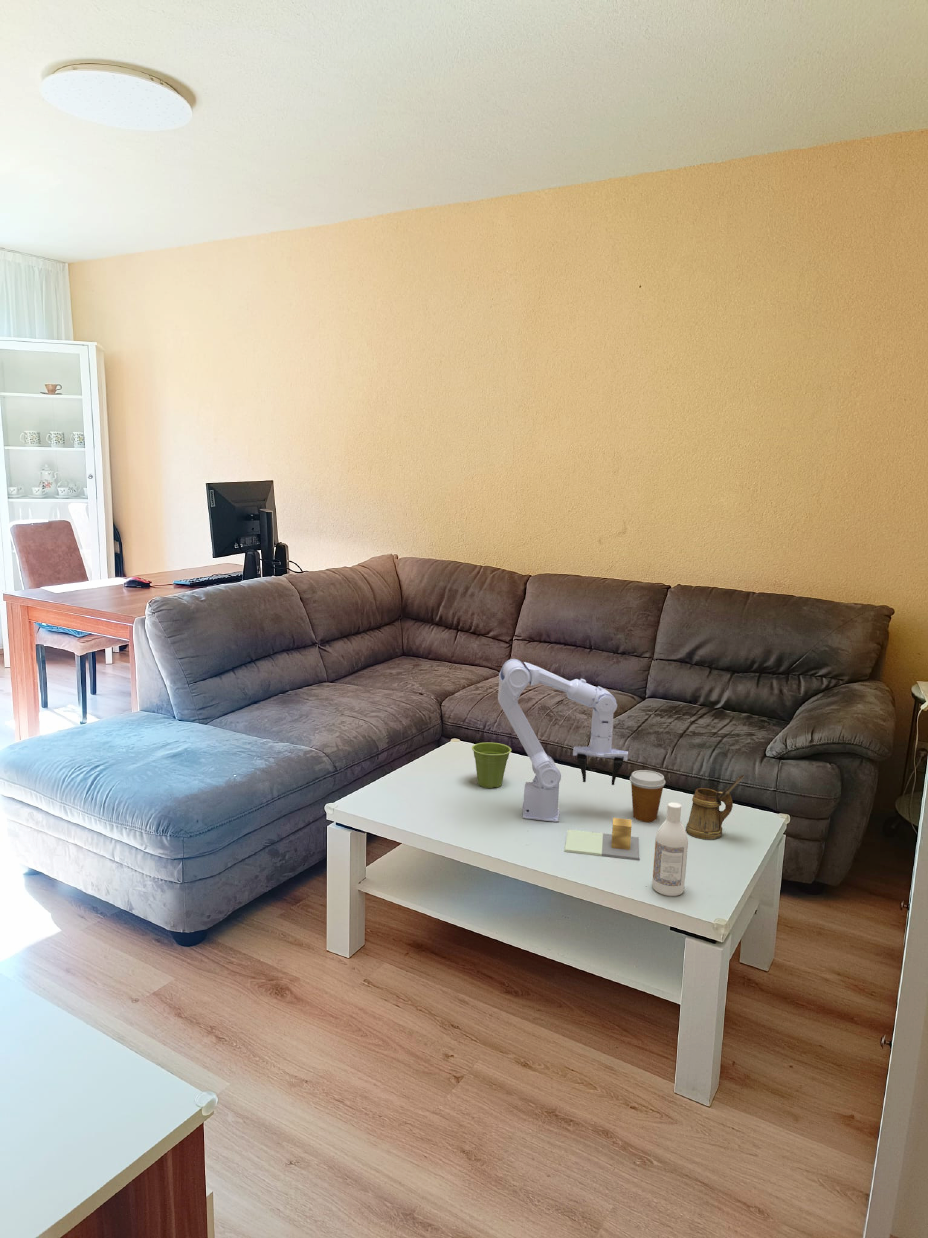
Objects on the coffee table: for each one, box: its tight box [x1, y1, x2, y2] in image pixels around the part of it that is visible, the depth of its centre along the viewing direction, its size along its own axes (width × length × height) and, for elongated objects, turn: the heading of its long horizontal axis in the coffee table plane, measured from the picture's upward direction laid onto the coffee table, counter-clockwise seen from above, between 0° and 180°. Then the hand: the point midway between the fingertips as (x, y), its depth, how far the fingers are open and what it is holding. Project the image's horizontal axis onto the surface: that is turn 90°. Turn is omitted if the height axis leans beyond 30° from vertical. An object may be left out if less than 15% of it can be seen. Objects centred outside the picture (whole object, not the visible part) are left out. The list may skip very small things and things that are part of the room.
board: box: [564, 829, 640, 861], centre depth 201 cm, size 18×12×1 cm, turn 79°
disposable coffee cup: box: [629, 769, 666, 823], centre depth 218 cm, size 10×10×12 cm
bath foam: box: [651, 802, 689, 897], centre depth 178 cm, size 7×7×20 cm
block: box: [611, 817, 633, 850], centre depth 200 cm, size 4×4×6 cm
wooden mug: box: [685, 774, 745, 841], centre depth 208 cm, size 9×14×18 cm, turn 55°
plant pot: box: [471, 741, 512, 789], centre depth 239 cm, size 12×12×11 cm
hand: (598, 782), depth 218 cm, fingers open, 7 cm apart
